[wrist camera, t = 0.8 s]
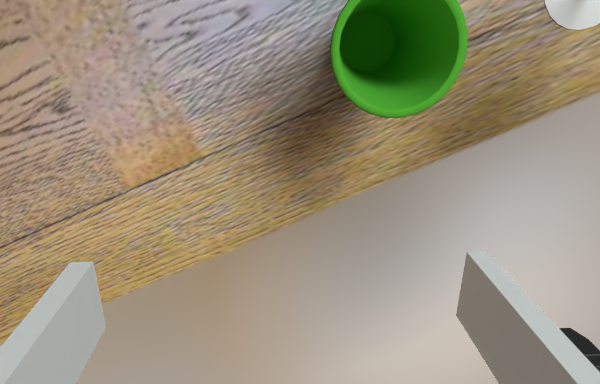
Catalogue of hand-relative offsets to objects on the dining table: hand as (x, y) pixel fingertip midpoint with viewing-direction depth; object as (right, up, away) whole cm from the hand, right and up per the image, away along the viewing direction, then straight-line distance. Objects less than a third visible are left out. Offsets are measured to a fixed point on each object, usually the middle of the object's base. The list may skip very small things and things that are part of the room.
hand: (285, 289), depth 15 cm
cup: (+6, +17, +23) cm, 29 cm away
